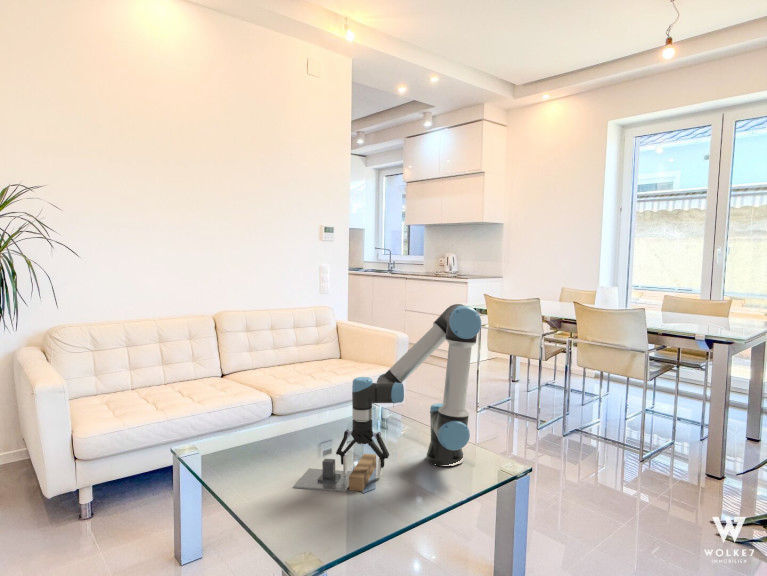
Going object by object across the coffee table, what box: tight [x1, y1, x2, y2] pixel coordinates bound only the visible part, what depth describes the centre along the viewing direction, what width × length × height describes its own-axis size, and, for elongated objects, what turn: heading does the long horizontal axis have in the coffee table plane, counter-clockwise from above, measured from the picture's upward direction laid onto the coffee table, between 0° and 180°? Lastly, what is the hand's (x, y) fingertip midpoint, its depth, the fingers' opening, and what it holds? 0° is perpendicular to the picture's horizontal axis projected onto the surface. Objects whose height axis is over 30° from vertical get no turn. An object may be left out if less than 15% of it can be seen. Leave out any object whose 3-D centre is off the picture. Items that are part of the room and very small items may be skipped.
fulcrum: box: [292, 458, 353, 493], centre depth 180 cm, size 20×16×8 cm
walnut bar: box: [349, 453, 377, 492], centre depth 183 cm, size 22×5×5 cm, turn 168°
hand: (362, 474), depth 183 cm, fingers open, 13 cm apart
